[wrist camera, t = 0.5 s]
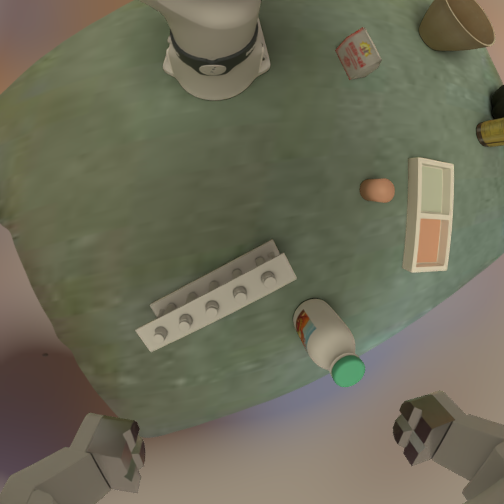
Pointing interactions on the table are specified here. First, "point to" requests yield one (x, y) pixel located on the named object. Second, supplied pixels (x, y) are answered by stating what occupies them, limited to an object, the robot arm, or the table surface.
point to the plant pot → (456, 26)
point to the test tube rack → (217, 295)
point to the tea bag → (358, 55)
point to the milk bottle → (328, 341)
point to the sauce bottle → (491, 132)
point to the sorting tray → (428, 215)
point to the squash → (498, 103)
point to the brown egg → (377, 190)
